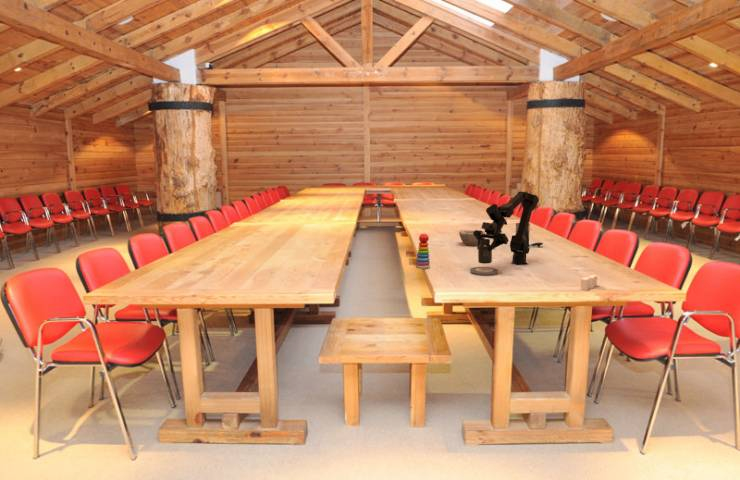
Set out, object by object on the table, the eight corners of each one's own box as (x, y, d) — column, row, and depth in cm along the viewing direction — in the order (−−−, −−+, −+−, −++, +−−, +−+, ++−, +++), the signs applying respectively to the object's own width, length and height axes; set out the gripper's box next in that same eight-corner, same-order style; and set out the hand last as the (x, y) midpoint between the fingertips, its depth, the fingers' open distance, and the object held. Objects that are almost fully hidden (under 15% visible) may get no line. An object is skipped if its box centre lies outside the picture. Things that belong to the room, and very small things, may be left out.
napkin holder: (593, 284, 256) (594, 272, 255) (609, 290, 245) (610, 278, 244) (565, 286, 253) (565, 274, 252) (579, 292, 242) (580, 280, 241)
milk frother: (511, 245, 359) (512, 223, 356) (532, 244, 363) (533, 221, 361) (523, 249, 345) (524, 225, 343) (545, 247, 350) (546, 224, 347)
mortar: (484, 243, 368) (484, 229, 367) (485, 247, 352) (486, 233, 350) (458, 242, 371) (459, 229, 369) (459, 247, 354) (459, 233, 353)
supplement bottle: (493, 261, 280) (493, 238, 279) (489, 264, 275) (489, 240, 273) (480, 260, 284) (480, 238, 282) (476, 263, 278) (476, 239, 276)
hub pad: (490, 269, 289) (490, 265, 288) (503, 274, 275) (503, 271, 275) (465, 270, 285) (465, 267, 285) (477, 276, 272) (477, 273, 271)
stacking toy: (418, 270, 288) (418, 234, 285) (413, 266, 295) (413, 232, 292) (432, 269, 290) (432, 234, 287) (426, 266, 297) (427, 232, 294)
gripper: (475, 214, 285) (461, 238, 280) (505, 217, 271) (492, 242, 266) (484, 227, 291) (471, 251, 286) (514, 231, 278) (501, 256, 272)
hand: (483, 249), depth 277 cm, fingers closed on supplement bottle, 7 cm apart
